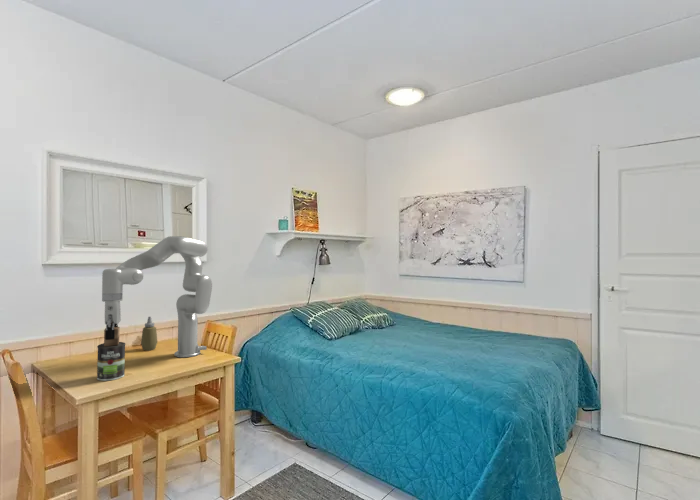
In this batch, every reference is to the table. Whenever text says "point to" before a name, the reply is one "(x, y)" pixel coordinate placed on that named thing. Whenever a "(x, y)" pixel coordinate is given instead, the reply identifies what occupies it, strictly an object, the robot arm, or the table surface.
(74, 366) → the table surface
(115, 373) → the coffee can
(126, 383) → the table surface
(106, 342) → the walnut block
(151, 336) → the squeeze bottle
